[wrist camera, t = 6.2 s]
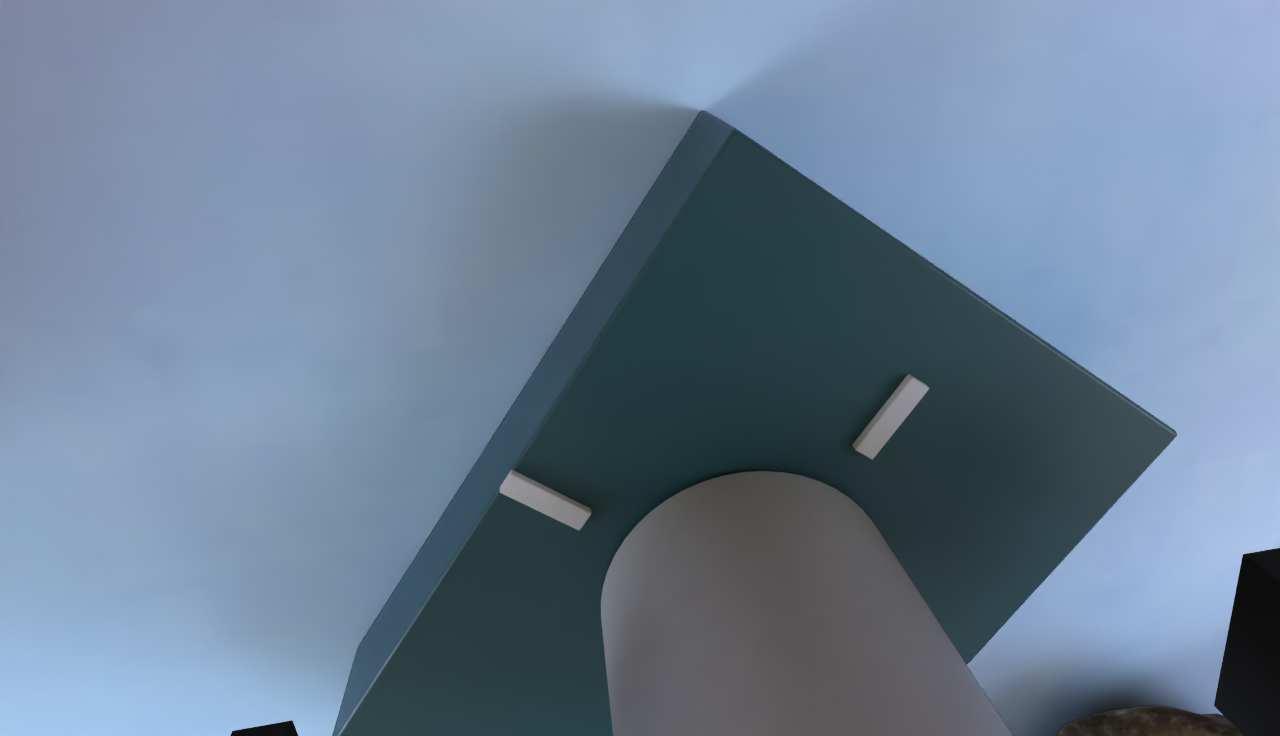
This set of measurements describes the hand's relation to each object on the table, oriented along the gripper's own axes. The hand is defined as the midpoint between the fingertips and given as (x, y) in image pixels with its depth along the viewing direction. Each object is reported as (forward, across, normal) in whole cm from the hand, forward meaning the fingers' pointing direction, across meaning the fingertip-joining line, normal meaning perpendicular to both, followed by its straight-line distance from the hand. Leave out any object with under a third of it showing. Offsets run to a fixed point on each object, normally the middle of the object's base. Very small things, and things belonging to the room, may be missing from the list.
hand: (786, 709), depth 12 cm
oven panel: (+5, 0, 0) cm, 5 cm away
